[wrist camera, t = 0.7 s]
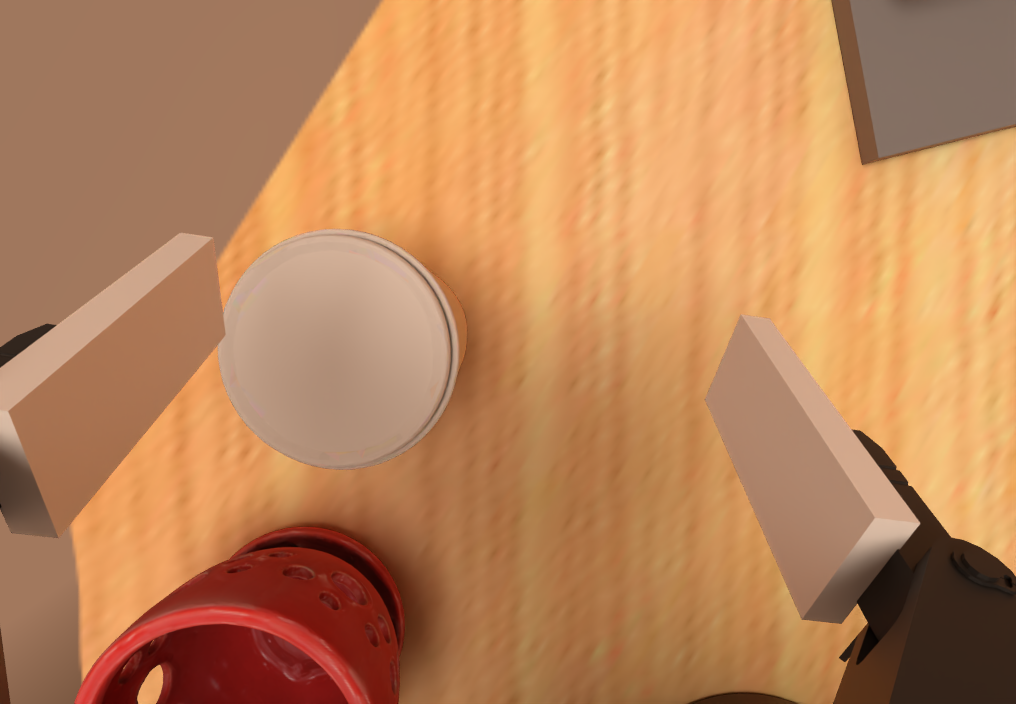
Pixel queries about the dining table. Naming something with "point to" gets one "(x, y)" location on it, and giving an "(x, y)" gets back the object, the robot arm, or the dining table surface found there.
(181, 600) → the plant pot
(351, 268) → the coffee cup
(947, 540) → the robot arm
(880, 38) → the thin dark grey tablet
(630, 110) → the dining table surface
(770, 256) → the dining table surface
